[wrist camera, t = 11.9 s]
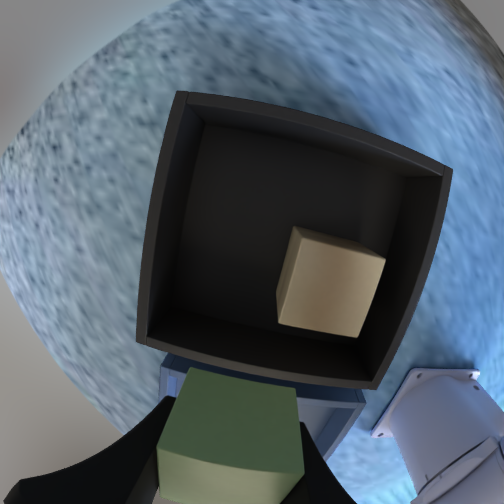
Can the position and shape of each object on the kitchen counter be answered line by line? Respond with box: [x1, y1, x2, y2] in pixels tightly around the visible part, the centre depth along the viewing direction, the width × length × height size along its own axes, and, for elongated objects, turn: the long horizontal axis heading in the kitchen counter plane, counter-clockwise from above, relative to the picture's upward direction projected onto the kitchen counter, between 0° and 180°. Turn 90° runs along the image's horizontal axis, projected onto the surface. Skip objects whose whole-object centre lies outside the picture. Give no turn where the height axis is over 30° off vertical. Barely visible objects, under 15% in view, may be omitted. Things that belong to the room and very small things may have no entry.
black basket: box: [136, 91, 453, 390], centre depth 14 cm, size 13×12×4 cm
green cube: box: [157, 367, 305, 504], centre depth 8 cm, size 4×4×4 cm
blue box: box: [159, 353, 366, 462], centre depth 18 cm, size 13×15×3 cm
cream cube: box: [276, 226, 386, 337], centre depth 14 cm, size 4×4×4 cm
